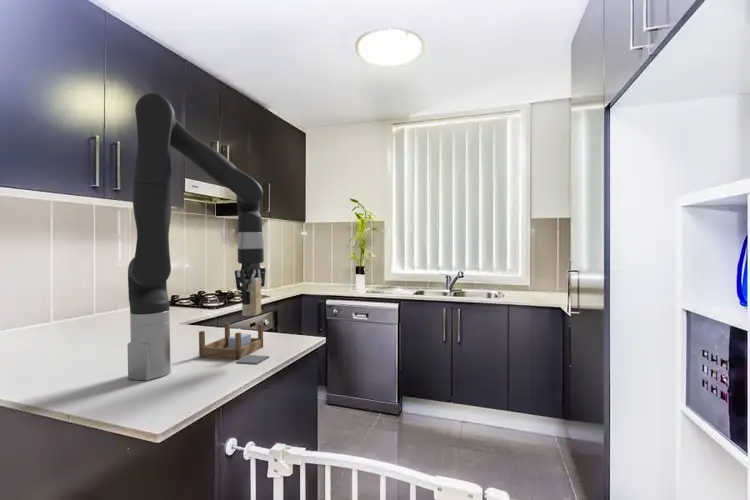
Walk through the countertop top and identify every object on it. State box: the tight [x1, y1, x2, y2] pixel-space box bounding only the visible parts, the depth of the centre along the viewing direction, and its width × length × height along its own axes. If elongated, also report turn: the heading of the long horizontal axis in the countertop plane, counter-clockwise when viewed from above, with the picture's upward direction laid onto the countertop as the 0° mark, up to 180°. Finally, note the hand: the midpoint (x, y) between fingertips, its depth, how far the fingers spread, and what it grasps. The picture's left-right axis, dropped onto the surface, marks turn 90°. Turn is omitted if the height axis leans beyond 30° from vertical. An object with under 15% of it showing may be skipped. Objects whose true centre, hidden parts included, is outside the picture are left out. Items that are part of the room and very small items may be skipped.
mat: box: [235, 354, 270, 365], centre depth 115 cm, size 7×7×1 cm
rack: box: [198, 322, 264, 361], centre depth 124 cm, size 14×14×8 cm
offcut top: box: [228, 333, 252, 348], centre depth 122 cm, size 6×4×3 cm, turn 162°
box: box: [241, 278, 262, 317], centre depth 115 cm, size 5×4×11 cm
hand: (251, 302), depth 115 cm, fingers closed on box, 5 cm apart
